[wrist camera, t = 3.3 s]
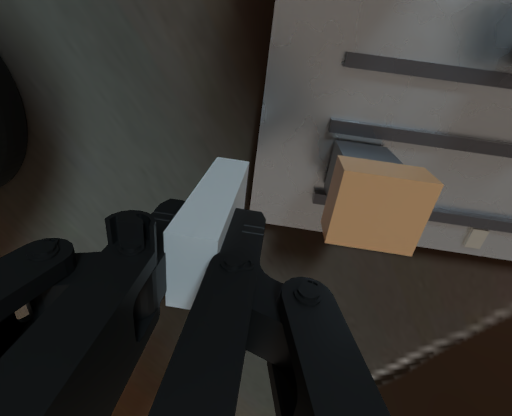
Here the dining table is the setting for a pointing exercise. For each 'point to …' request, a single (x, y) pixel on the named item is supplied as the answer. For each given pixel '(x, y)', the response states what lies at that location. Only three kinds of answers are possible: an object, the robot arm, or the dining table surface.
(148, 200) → the dining table surface
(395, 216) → the fader
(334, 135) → the console
